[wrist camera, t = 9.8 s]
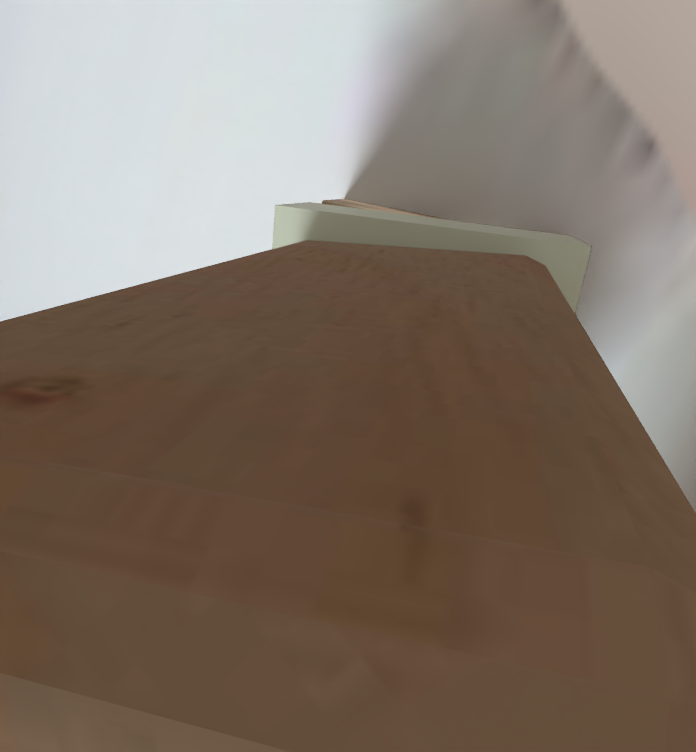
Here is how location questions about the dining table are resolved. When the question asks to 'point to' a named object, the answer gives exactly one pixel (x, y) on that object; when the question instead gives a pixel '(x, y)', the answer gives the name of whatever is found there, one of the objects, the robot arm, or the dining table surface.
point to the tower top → (433, 237)
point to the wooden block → (336, 518)
